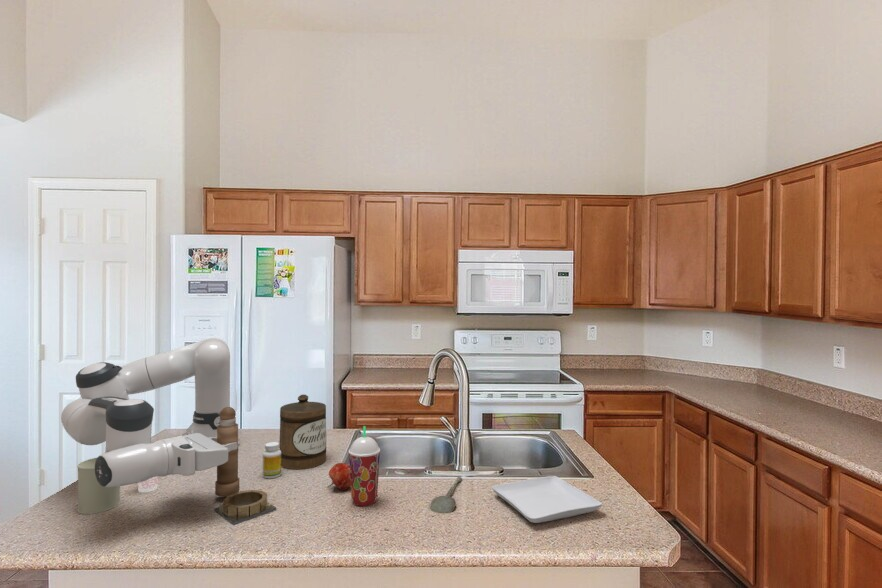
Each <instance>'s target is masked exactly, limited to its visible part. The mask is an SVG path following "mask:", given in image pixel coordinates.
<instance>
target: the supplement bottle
mask: <svg viewBox="0 0 882 588" xmlns="http://www.w3.org/2000/svg"><path fill="white" fill-rule="evenodd" d="M279 443H280V442H279V441H278V442H277V441H271V442H266V444H265V445H264V451H263V453H262V477H263V478H264V479H275V478H278V477H280V476H281V475H282V466H281V451H280V450H279Z"/></svg>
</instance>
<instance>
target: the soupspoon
mask: <svg viewBox="0 0 882 588" xmlns="http://www.w3.org/2000/svg"><path fill="white" fill-rule="evenodd" d="M462 482H463V477H461V476H457V477H456V479H455V481H454V482H453V484H452V485H451V486H450V488H449V490H448V491H447V493H446V494H445V495H439V496H436V497H435V498H433V499H432V500H431V502H430V505H429V507H430V510H431V511H432V512H434V513H436V514H443V515H444V514H451V513H452V512H453V511H454V510H455V508H456V505H457V501H456V499H455V498H454V497H452V496H451V493H452V491H453V489H454V488H455V486H456V485H457V484H459V483H462Z"/></svg>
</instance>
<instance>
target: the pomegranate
mask: <svg viewBox="0 0 882 588" xmlns="http://www.w3.org/2000/svg"><path fill="white" fill-rule="evenodd" d="M328 476H329V478H330V479H331V484H329V485H327V488H330V487H331V486H333V485H335V486H336V487H337V488H338V489H339V490H341V491H342V490H347V489H349V488H351V482H350V466H349V464H348V463H345V462H338V463H336V464H334V465H333V466H332V467H331V468H330V469H329V472H328Z"/></svg>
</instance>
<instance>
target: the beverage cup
mask: <svg viewBox="0 0 882 588" xmlns="http://www.w3.org/2000/svg"><path fill="white" fill-rule="evenodd" d="M158 481H159V477H152V478H150V479H148V480H146V481H143V482H139V483H137V490H138V492H139V493H150V492H152V491H156V490H157V489H158V483H159V482H158Z"/></svg>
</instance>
